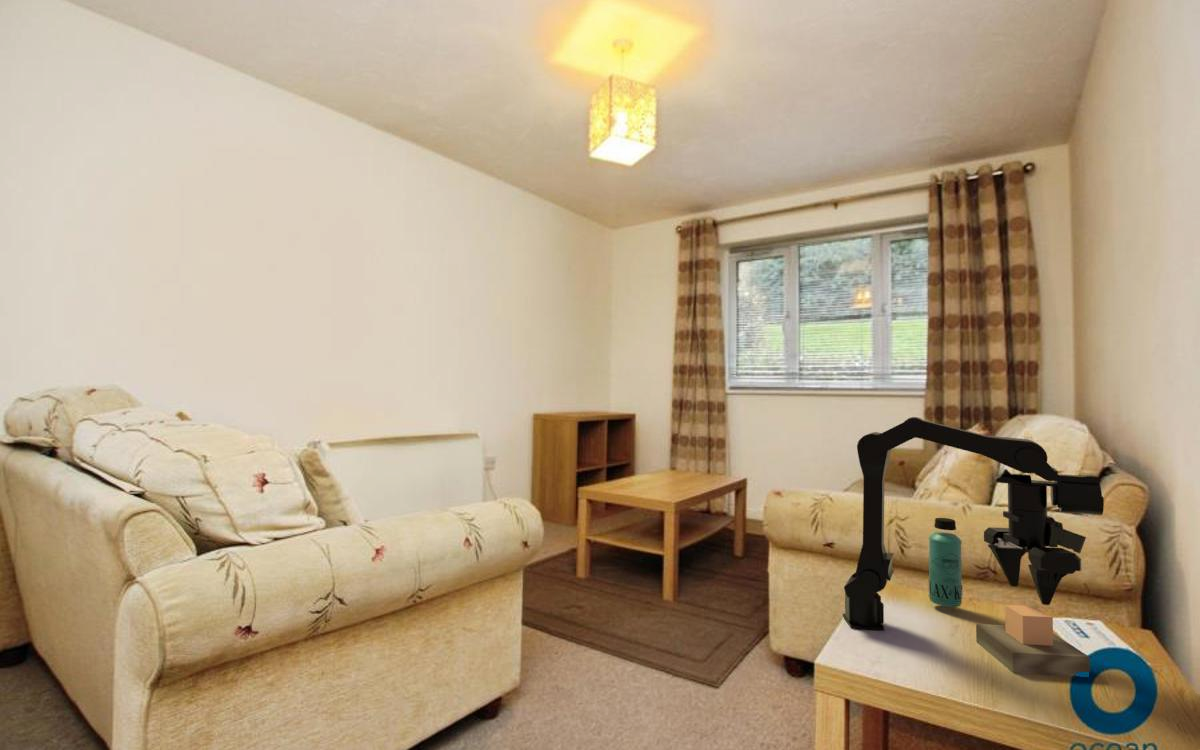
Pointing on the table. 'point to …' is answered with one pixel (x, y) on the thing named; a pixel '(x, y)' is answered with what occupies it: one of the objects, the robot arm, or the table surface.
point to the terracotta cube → (1029, 625)
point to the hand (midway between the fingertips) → (1029, 595)
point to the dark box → (1031, 653)
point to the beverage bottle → (945, 565)
